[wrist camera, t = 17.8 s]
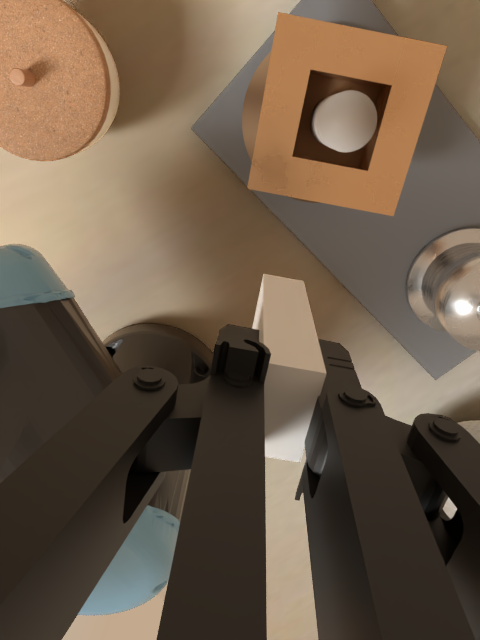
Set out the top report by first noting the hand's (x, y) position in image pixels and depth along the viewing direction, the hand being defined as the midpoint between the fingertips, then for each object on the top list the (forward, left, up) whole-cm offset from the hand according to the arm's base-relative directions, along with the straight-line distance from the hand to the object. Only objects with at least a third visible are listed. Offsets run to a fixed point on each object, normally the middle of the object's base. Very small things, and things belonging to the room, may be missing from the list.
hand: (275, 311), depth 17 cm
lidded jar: (+6, +18, -27) cm, 33 cm away
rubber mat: (+2, -11, -26) cm, 29 cm away
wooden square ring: (+7, -3, -18) cm, 20 cm away
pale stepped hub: (-4, -19, -25) cm, 32 cm away
